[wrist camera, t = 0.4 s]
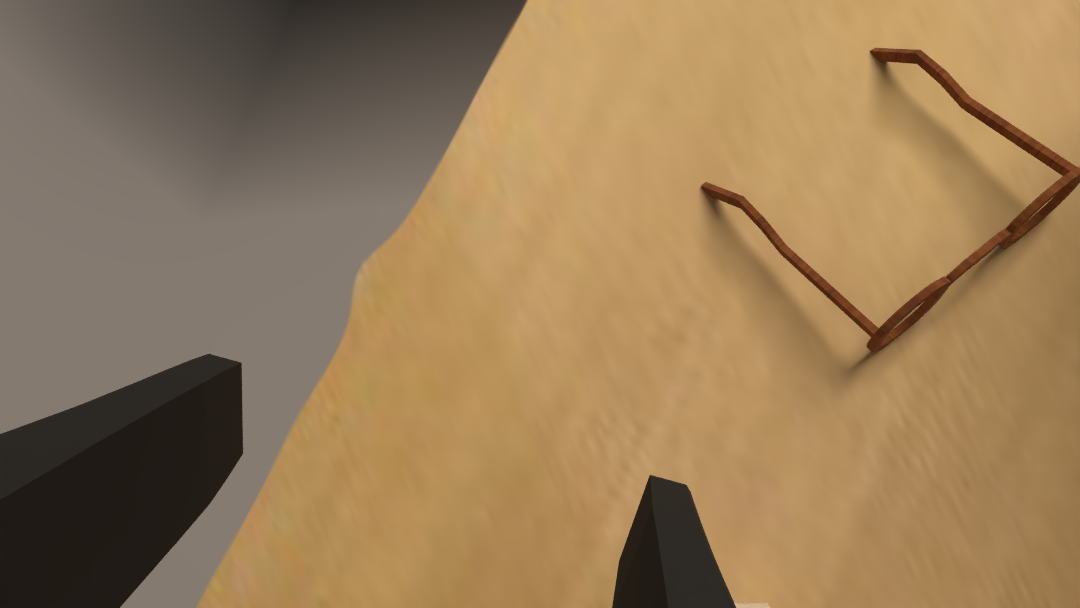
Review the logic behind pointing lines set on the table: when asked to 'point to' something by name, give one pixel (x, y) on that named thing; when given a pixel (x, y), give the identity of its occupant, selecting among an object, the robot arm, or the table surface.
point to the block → (752, 605)
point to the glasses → (1003, 239)
